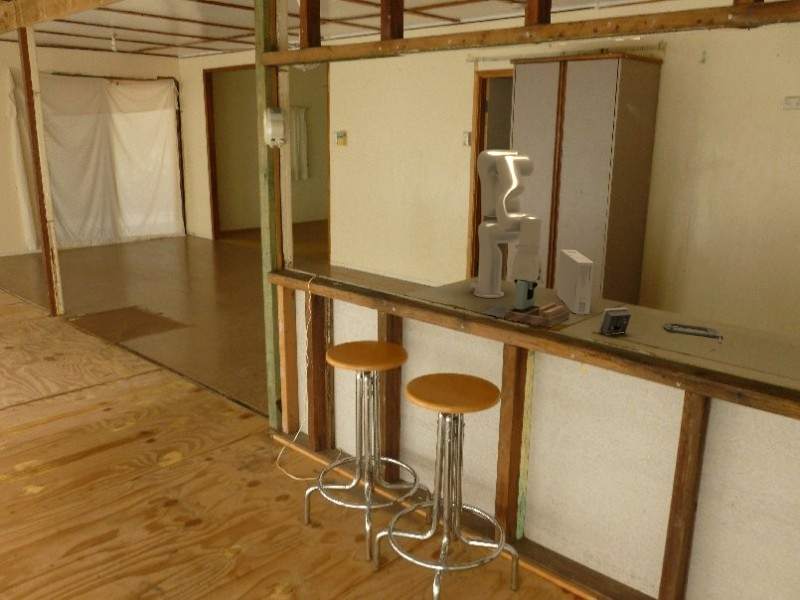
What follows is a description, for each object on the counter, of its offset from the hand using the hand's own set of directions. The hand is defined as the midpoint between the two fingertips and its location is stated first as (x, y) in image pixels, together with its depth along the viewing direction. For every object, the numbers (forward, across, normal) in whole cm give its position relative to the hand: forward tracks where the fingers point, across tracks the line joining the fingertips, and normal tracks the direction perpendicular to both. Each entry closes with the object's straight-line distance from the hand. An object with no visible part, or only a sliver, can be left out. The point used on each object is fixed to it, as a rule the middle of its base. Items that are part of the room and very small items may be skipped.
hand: (525, 297), depth 249 cm
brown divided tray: (+7, +6, 0) cm, 9 cm away
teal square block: (+3, 0, 0) cm, 3 cm away
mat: (+7, -9, 0) cm, 11 cm away
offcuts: (+7, +11, 0) cm, 13 cm away
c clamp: (+7, +55, +19) cm, 59 cm away
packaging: (+8, +6, +30) cm, 31 cm away
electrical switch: (+7, +34, 0) cm, 35 cm away
